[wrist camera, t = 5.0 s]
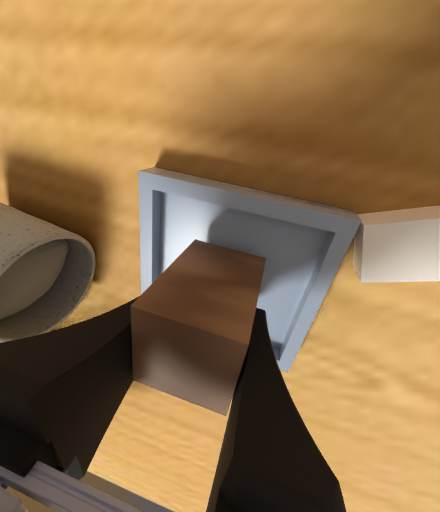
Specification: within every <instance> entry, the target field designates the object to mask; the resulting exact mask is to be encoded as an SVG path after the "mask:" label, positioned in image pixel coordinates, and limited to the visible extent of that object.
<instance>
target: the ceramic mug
mask: <svg viewBox="0 0 440 512" xmlns="http://www.w3.org/2000/svg"><path fill="white" fill-rule="evenodd" d="M95 265H96V261H95V252H94V250H93V248H92V246H91V245H90V243H89V242H88V241H87V240H86V239H84V238H83V237H81V236H79V235H77V234H76V233H73V232H70V231H67V230H65V229H63V228H60V227H58V226H56V225H54V224H51V223H49V222H46V221H44V220H42V219H39V218H36V217H34V216H31V215H29V214H26V213H24V212H22V211H20V210H18V209H15V208H13V207H11V206H8V205H5V204H3V203H0V343H2V342H7V341H12V340H17V339H21V338H26V337H31V336H35V335H39V334H43V333H47V332H49V331H51V330H52V329H54V328H55V327H57V326H58V325H59V324H60V323H61V322H62V321H64V320H65V319H66V318H67V317H68V316H69V315H70V314H71V313H72V312H73V311H74V310H75V309H76V307H77V306H78V304H79V303H80V302H81V301H82V299H83V297H84V296H85V294H86V293H87V291H88V288H89V287H90V285H91V282H92V279H93V276H94V272H95Z"/></svg>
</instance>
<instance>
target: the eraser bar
mask: <svg viewBox="0 0 440 512" xmlns="http://www.w3.org/2000/svg"><path fill="white" fill-rule="evenodd" d="M357 216H358V217H359V218H360V219H361V223H360V225H359V227H358V230H357V232H356V234H355V236H354V256H353V267H354V269H355V271H356V274H357V276H358V278H359V280H360V282H361V283H375V282H419V281H440V205H438V206H429V207H420V208H411V209H401V210H392V211H383V212H374V213H364V214H357Z"/></svg>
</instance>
